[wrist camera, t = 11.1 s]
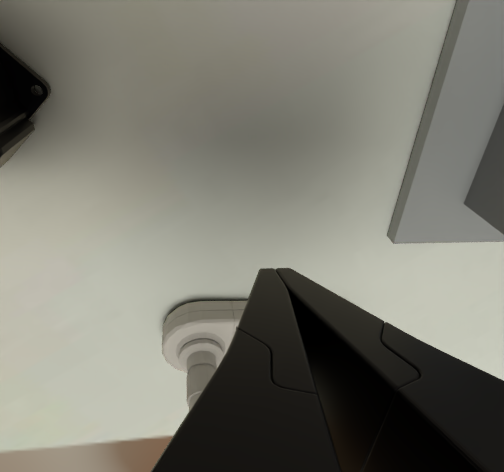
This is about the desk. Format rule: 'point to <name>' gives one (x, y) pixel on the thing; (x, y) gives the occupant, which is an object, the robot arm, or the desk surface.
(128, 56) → the desk surface
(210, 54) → the desk surface
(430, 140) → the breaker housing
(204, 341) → the electronic device
